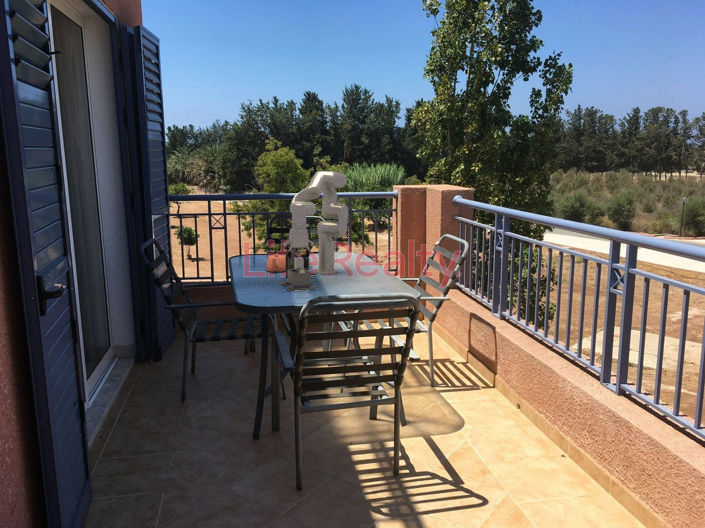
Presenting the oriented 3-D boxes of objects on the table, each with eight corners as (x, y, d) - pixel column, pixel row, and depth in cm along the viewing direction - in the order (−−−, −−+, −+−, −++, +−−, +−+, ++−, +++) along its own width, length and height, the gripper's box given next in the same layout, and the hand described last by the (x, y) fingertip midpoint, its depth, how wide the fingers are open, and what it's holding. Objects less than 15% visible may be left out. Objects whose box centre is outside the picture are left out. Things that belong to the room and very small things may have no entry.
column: (294, 286, 307) (294, 257, 304) (301, 285, 309) (301, 257, 305) (296, 288, 303) (296, 259, 299) (303, 287, 304) (304, 258, 301)
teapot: (288, 268, 351) (288, 251, 349) (282, 274, 333) (282, 257, 331) (270, 267, 352) (270, 251, 350) (263, 273, 334) (263, 256, 332)
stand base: (280, 284, 310) (280, 265, 308) (308, 282, 316) (308, 264, 314) (288, 291, 296) (288, 272, 294) (317, 289, 302) (317, 270, 300)
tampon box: (297, 281, 319) (298, 255, 316) (285, 278, 324) (285, 253, 321) (309, 277, 328) (309, 252, 325) (296, 275, 333) (296, 250, 330)
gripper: (312, 225, 306) (311, 256, 309) (281, 225, 299) (281, 257, 302) (316, 227, 299) (316, 258, 302) (285, 227, 292) (284, 260, 296)
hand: (298, 258), depth 302 cm, fingers open, 9 cm apart
